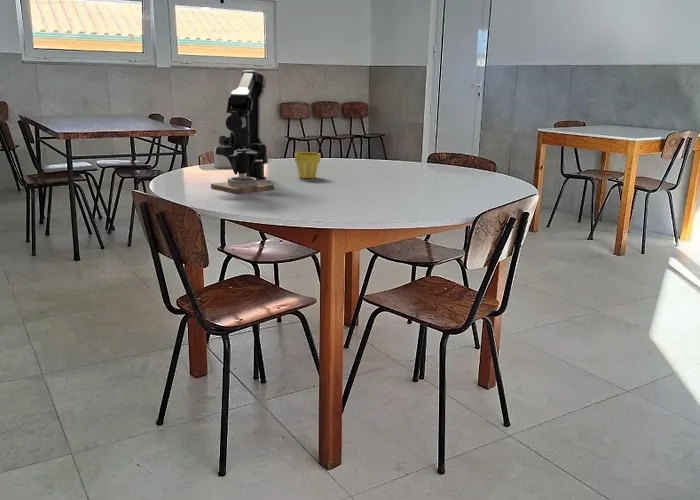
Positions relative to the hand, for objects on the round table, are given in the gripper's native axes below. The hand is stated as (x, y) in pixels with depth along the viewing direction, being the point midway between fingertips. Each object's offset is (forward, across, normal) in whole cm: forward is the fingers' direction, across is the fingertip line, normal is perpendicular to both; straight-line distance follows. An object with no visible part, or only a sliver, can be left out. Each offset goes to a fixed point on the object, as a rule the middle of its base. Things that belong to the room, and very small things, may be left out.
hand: (242, 173), depth 225 cm
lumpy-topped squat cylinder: (+6, -31, -52) cm, 61 cm away
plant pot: (+6, -36, -4) cm, 37 cm away
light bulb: (+3, 0, 0) cm, 3 cm away
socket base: (+5, 0, 0) cm, 5 cm away
